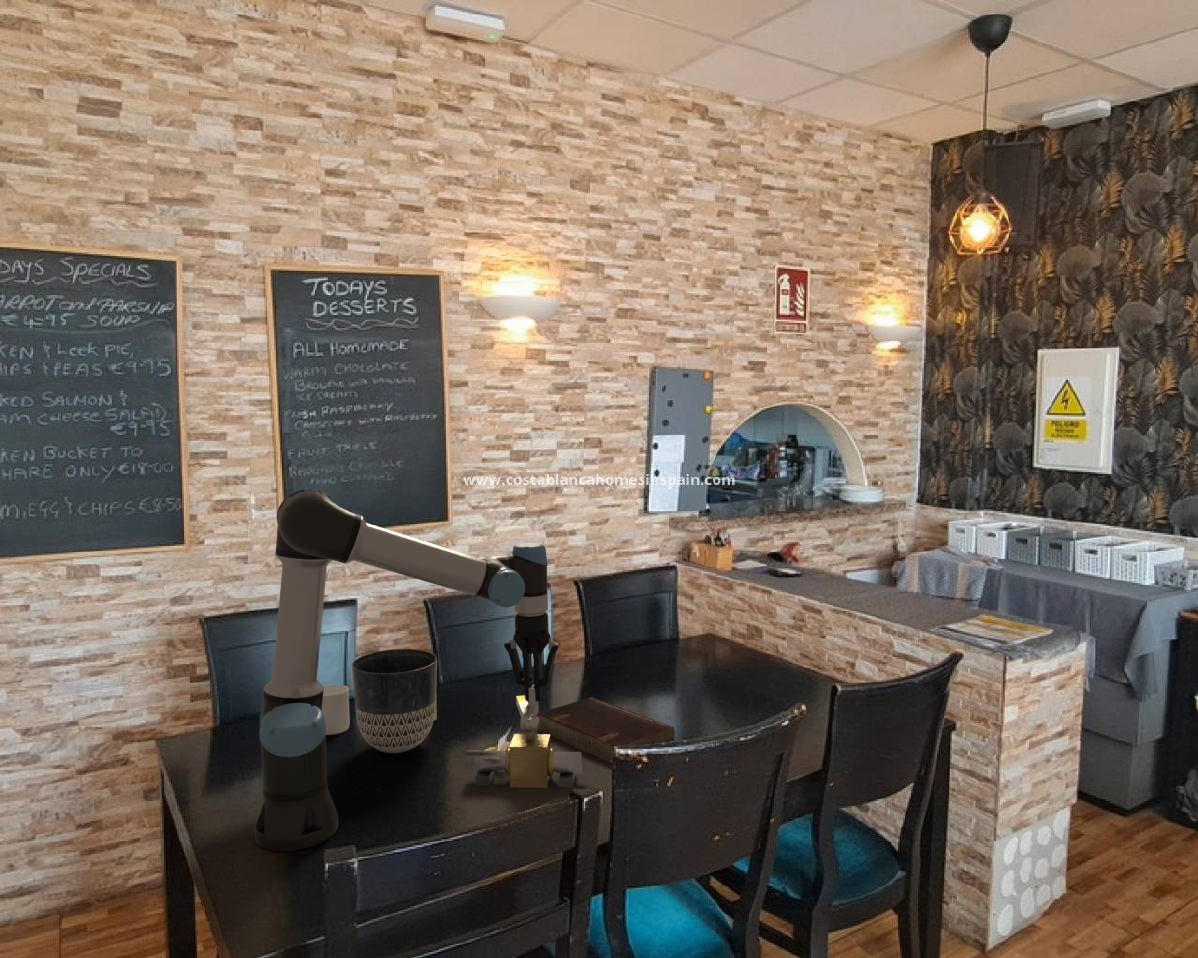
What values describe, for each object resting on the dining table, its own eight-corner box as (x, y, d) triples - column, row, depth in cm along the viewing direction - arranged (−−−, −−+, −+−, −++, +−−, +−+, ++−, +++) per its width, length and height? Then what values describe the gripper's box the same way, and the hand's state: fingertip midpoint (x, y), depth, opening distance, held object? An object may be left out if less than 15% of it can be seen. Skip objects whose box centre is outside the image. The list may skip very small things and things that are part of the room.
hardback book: (674, 745, 207) (674, 725, 207) (618, 768, 194) (618, 746, 194) (593, 713, 228) (592, 695, 228) (537, 732, 216) (537, 713, 215)
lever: (540, 729, 185) (540, 720, 184) (522, 731, 184) (522, 722, 184) (529, 702, 201) (528, 694, 201) (511, 704, 200) (511, 696, 200)
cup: (321, 737, 212) (319, 697, 211) (306, 723, 221) (305, 684, 221) (354, 730, 216) (353, 691, 215) (338, 716, 226) (337, 678, 225)
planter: (339, 748, 205) (336, 660, 203) (410, 726, 219) (408, 644, 217) (382, 773, 191) (379, 679, 189) (455, 748, 205) (453, 660, 203)
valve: (580, 788, 183) (579, 735, 182) (463, 786, 184) (462, 734, 183) (582, 774, 190) (582, 723, 189) (470, 772, 191) (469, 721, 190)
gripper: (563, 609, 196) (565, 710, 198) (509, 607, 199) (512, 707, 200) (554, 617, 188) (556, 722, 190) (498, 615, 191) (501, 718, 193)
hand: (533, 714), depth 195 cm, fingers closed
